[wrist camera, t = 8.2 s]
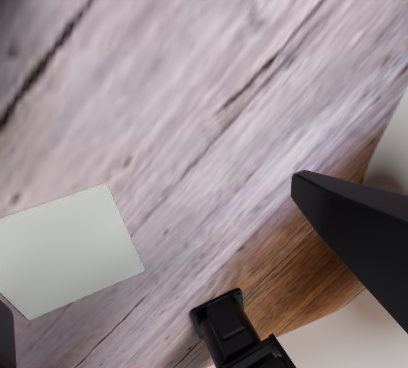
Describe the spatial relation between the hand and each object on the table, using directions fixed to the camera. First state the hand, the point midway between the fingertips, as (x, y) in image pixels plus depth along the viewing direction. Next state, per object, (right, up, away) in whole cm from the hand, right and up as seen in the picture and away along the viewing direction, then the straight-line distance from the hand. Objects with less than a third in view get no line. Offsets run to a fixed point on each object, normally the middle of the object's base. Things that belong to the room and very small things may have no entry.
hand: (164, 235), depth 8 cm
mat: (-10, -4, +14) cm, 17 cm away
